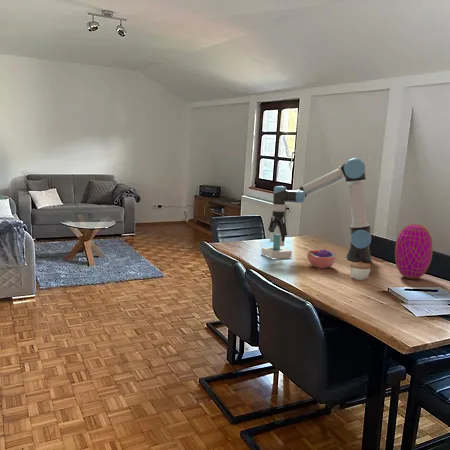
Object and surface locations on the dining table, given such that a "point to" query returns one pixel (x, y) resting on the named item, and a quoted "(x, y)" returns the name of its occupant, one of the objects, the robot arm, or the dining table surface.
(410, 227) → the decorative egg
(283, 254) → the socket block
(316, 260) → the cell model
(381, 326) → the dining table surface
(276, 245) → the peg
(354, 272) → the lidded jar
